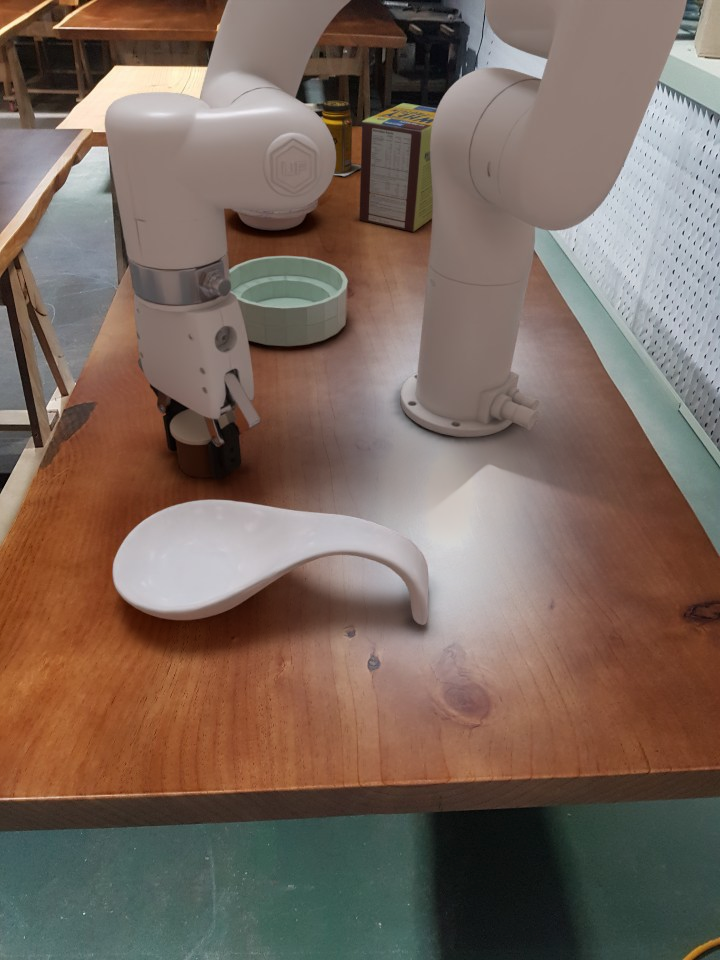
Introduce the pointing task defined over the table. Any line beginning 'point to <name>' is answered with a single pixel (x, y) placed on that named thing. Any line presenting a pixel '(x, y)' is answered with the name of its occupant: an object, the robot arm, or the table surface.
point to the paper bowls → (275, 217)
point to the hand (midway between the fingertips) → (204, 456)
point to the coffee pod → (193, 442)
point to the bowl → (290, 299)
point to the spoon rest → (246, 555)
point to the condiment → (340, 134)
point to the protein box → (397, 167)
